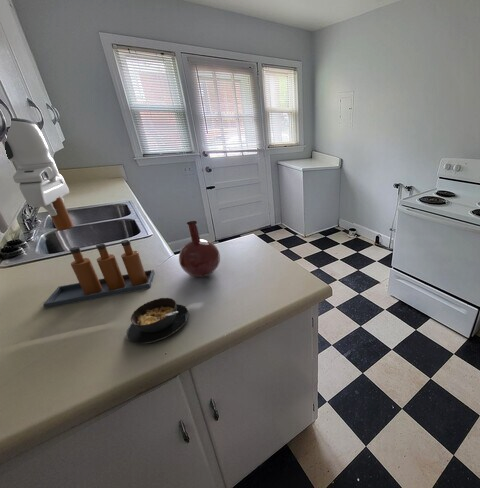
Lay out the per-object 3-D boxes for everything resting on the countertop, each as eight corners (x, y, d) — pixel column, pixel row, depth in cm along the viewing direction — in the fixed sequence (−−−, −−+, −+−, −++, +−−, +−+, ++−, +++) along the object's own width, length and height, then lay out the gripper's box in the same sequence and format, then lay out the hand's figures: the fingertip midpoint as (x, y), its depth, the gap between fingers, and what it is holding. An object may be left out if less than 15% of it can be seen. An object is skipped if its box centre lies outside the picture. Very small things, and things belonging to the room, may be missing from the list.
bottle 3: (130, 287, 89) (114, 245, 83) (133, 280, 93) (118, 239, 87) (146, 284, 91) (132, 242, 85) (148, 277, 95) (135, 237, 88)
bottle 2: (107, 291, 87) (88, 249, 81) (111, 284, 91) (93, 243, 85) (123, 288, 89) (107, 246, 82) (127, 281, 93) (111, 240, 86)
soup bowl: (180, 302, 83) (174, 281, 80) (199, 328, 72) (193, 306, 69) (122, 325, 74) (113, 303, 71) (134, 359, 63) (124, 335, 60)
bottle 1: (82, 296, 85) (61, 252, 79) (87, 289, 89) (68, 246, 82) (99, 293, 87) (80, 250, 80) (104, 285, 90) (86, 244, 84)
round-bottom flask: (223, 263, 105) (213, 214, 97) (222, 280, 94) (211, 226, 85) (186, 268, 102) (173, 218, 93) (181, 287, 90) (165, 232, 82)
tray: (46, 310, 80) (43, 304, 79) (61, 291, 89) (58, 286, 88) (150, 289, 89) (149, 283, 89) (155, 274, 98) (153, 269, 97)
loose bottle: (54, 231, 93) (33, 186, 87) (60, 226, 97) (40, 183, 91) (70, 229, 95) (51, 185, 88) (75, 224, 99) (57, 182, 92)
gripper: (43, 168, 95) (59, 206, 101) (9, 178, 78) (31, 223, 84) (65, 167, 98) (80, 204, 103) (37, 176, 80) (57, 220, 86)
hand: (58, 212), depth 94 cm, fingers closed on loose bottle, 4 cm apart
